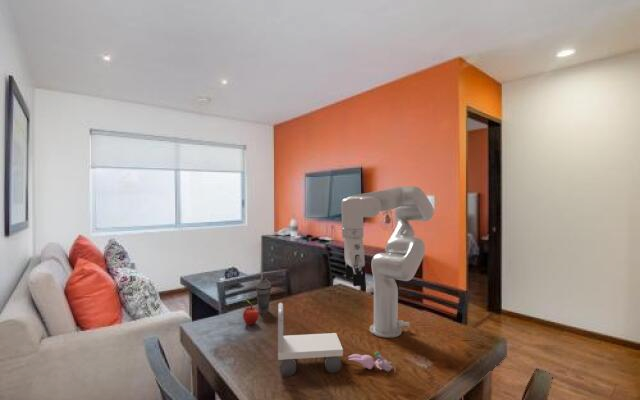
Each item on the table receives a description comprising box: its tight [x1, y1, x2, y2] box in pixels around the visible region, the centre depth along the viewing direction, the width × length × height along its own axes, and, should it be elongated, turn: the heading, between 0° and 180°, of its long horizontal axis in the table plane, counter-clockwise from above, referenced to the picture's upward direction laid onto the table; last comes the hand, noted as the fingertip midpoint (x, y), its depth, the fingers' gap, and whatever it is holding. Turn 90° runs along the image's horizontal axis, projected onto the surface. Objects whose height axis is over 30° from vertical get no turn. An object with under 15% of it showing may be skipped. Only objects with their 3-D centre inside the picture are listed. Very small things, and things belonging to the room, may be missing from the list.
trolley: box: [277, 302, 344, 377], centre depth 103 cm, size 20×13×18 cm, turn 97°
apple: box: [242, 299, 260, 326], centre depth 135 cm, size 8×7×10 cm
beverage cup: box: [255, 269, 272, 314], centre depth 149 cm, size 7×7×20 cm
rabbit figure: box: [347, 351, 397, 373], centre depth 100 cm, size 6×6×15 cm
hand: (353, 281), depth 111 cm, fingers open, 9 cm apart
